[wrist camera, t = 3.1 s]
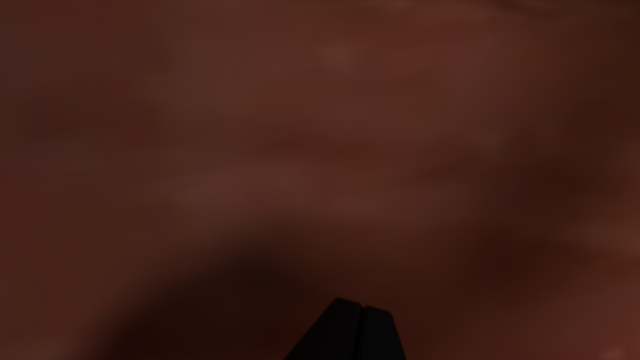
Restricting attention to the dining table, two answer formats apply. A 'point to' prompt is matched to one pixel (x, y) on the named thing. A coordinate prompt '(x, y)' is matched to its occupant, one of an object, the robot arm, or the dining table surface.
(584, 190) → the dining table surface
